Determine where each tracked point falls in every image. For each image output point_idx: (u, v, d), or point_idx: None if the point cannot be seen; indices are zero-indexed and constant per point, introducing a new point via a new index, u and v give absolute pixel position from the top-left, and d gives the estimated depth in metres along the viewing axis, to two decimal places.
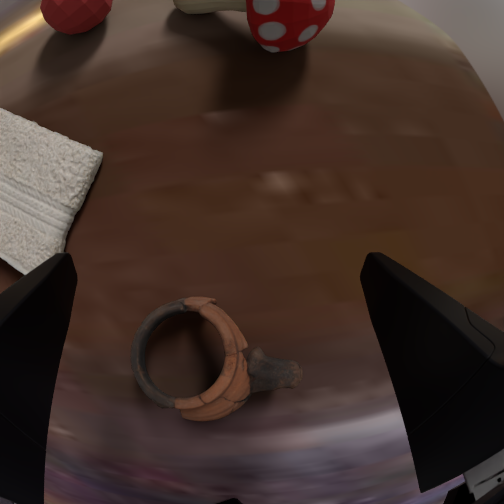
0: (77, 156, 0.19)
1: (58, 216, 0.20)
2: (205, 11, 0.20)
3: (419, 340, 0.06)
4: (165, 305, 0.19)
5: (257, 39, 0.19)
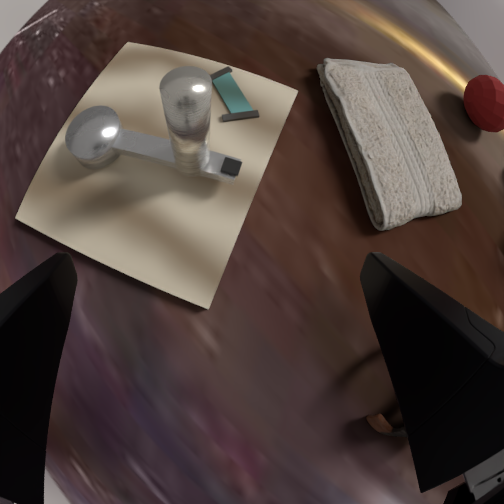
0: (456, 191, 0.24)
1: (427, 204, 0.23)
2: None
3: (419, 340, 0.06)
4: None
5: None
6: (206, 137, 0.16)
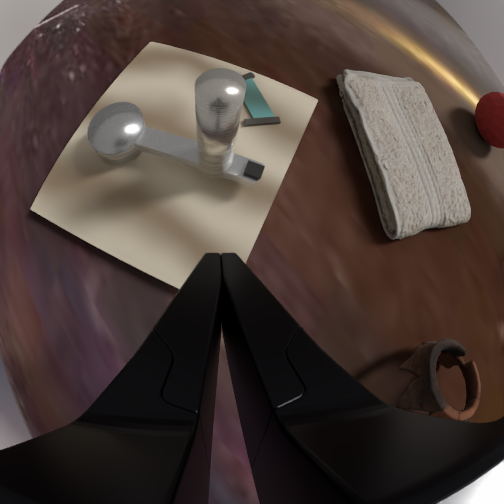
0: (466, 205, 0.24)
1: (438, 216, 0.24)
2: None
3: (238, 361, 0.06)
4: (458, 342, 0.20)
5: None
6: (234, 139, 0.16)
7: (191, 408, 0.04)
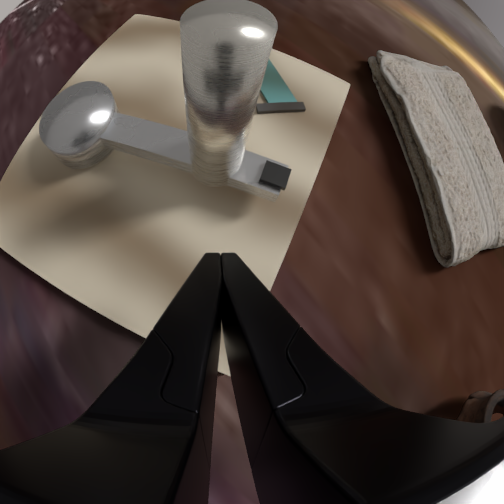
0: None
1: (492, 236, 0.17)
2: None
3: (238, 361, 0.06)
4: None
5: None
6: (248, 125, 0.10)
7: (191, 408, 0.04)
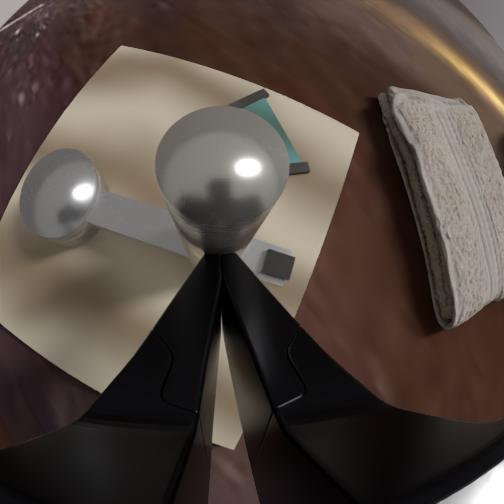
0: None
1: (495, 291, 0.16)
2: None
3: (239, 361, 0.06)
4: None
5: None
6: None
7: (191, 408, 0.04)
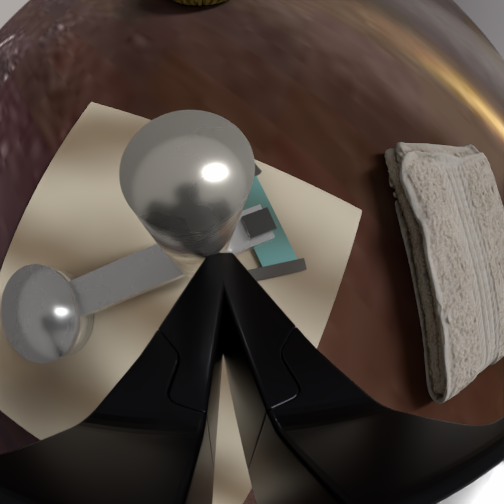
0: None
1: (490, 359, 0.16)
2: None
3: (234, 361, 0.06)
4: None
5: None
6: None
7: (199, 408, 0.04)
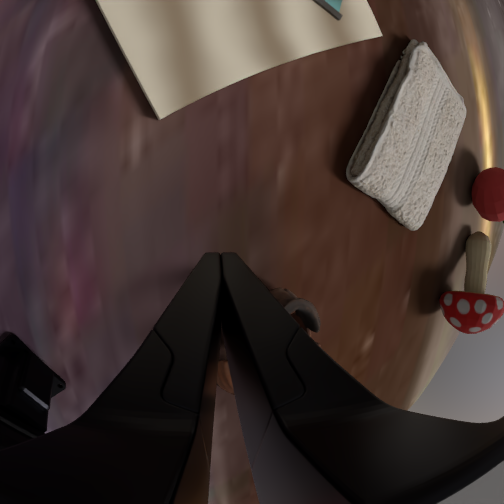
0: (422, 217, 0.27)
1: (396, 201, 0.25)
2: (468, 254, 0.35)
3: (238, 361, 0.06)
4: (318, 315, 0.23)
5: (457, 296, 0.32)
6: None
7: (191, 408, 0.04)
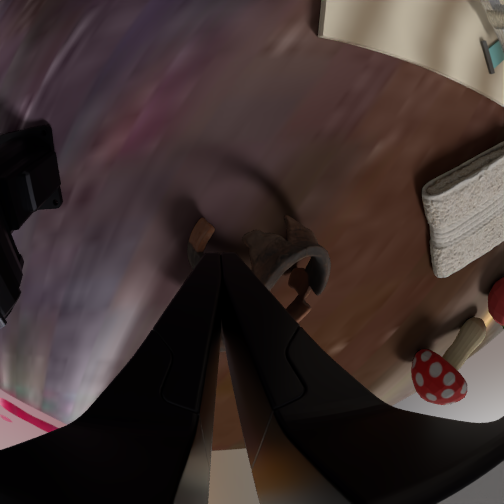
0: (451, 271, 0.26)
1: (444, 239, 0.24)
2: (463, 331, 0.35)
3: (238, 361, 0.06)
4: (327, 280, 0.22)
5: (436, 357, 0.33)
6: None
7: (191, 408, 0.04)
